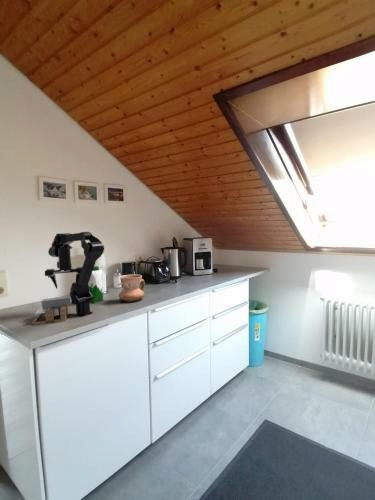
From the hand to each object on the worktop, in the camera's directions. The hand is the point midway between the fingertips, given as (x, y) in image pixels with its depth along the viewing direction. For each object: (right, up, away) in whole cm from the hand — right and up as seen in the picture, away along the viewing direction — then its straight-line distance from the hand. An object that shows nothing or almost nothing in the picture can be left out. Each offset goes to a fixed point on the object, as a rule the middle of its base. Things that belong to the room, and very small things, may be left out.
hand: (66, 287), depth 148 cm
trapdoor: (-3, -11, -11) cm, 16 cm away
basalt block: (-7, -6, -11) cm, 14 cm away
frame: (-3, -13, -11) cm, 18 cm away
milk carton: (+8, -11, +19) cm, 23 cm away
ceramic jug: (+31, -10, +19) cm, 37 cm away
